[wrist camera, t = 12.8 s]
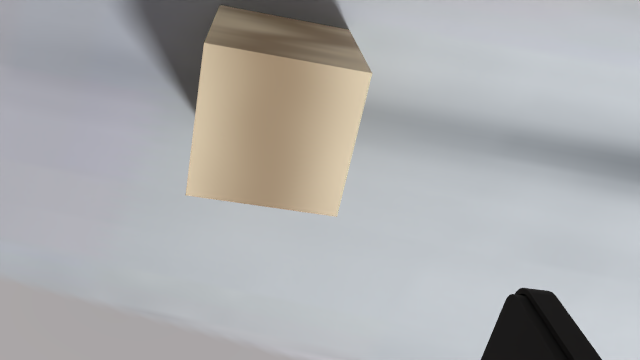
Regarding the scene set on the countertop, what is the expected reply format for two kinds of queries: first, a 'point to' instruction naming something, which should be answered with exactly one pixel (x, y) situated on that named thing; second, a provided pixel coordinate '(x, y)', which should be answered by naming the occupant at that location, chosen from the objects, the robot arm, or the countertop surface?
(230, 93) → the block
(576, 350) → the robot arm
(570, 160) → the countertop surface
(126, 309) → the countertop surface
